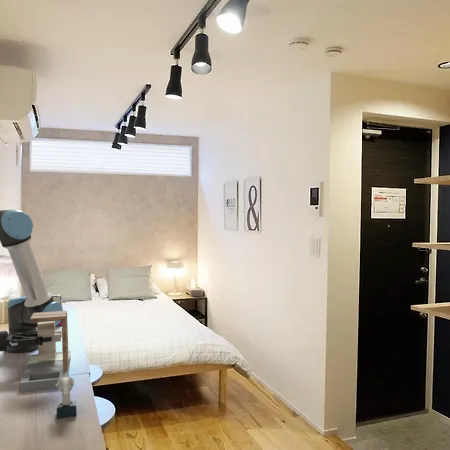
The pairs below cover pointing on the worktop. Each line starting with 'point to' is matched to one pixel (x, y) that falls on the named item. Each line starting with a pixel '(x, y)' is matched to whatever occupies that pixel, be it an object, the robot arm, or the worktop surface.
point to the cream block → (47, 348)
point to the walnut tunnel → (58, 317)
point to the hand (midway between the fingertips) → (61, 335)
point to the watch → (66, 398)
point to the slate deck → (43, 373)
